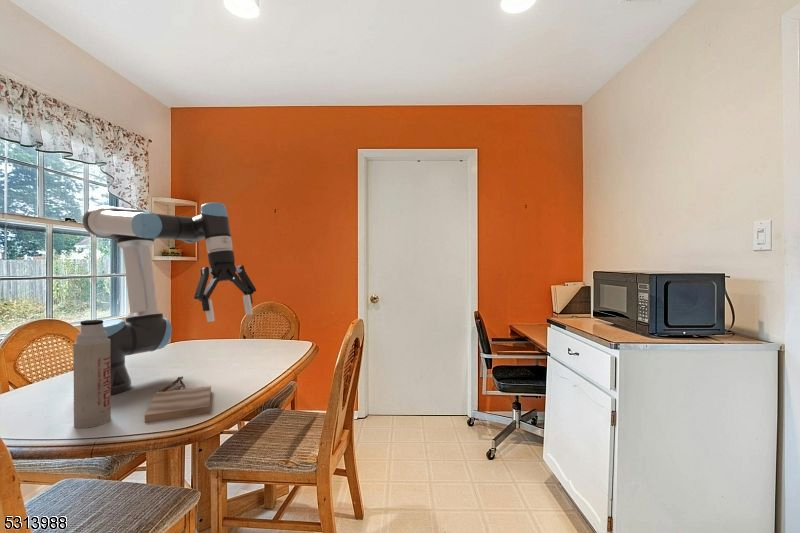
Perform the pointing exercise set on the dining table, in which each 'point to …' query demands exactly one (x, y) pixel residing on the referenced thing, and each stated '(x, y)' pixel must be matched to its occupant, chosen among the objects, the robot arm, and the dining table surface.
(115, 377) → the robot arm
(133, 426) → the dining table surface
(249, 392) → the dining table surface
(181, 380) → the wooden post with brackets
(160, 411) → the walnut board
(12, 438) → the dining table surface
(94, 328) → the thermos bottle
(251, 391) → the dining table surface
